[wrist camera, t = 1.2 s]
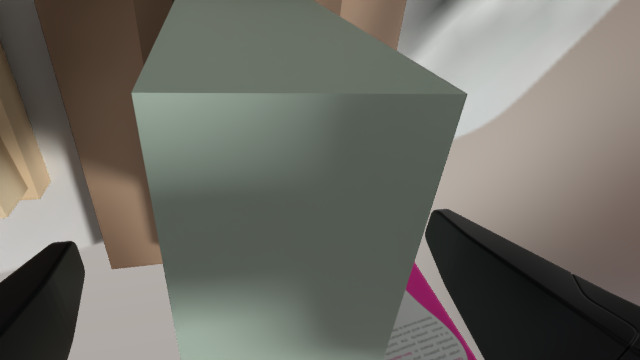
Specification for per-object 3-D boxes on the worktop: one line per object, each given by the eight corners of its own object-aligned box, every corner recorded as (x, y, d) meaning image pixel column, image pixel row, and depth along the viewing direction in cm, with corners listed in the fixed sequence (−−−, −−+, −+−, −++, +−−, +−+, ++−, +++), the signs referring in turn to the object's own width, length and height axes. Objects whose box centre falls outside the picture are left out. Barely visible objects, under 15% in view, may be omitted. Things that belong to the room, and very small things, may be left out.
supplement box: (336, 316, 29) (399, 498, 19) (326, 265, 25) (396, 457, 16) (405, 294, 29) (498, 459, 20) (404, 241, 26) (515, 411, 17)
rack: (418, -120, 14) (452, -129, 12) (353, 231, 24) (366, 259, 22) (-9, -193, 11) (-58, -223, 9) (115, 256, 20) (105, 291, 18)
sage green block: (292, -13, 14) (467, 94, 5) (282, 195, 20) (356, 445, 10) (184, -21, 13) (131, 92, 4) (204, 201, 19) (203, 485, 9)
